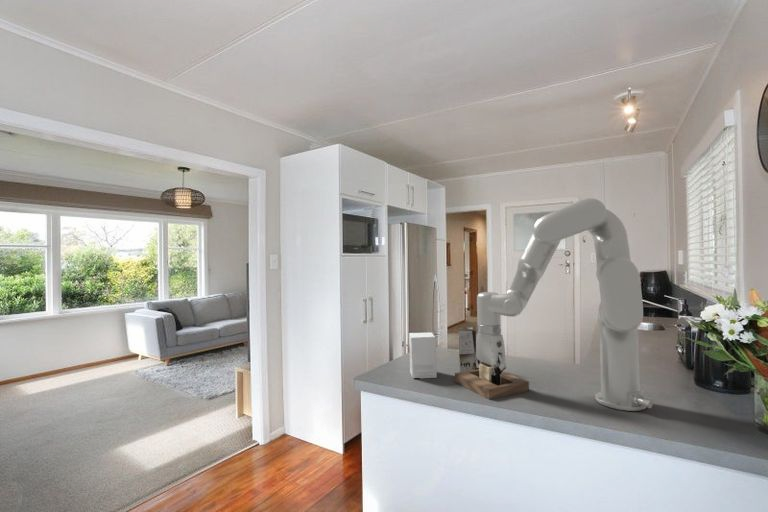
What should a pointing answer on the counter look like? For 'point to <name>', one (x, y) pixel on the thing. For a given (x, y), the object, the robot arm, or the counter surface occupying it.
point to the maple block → (486, 372)
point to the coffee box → (467, 348)
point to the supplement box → (422, 355)
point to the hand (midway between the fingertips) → (490, 383)
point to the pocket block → (489, 389)
